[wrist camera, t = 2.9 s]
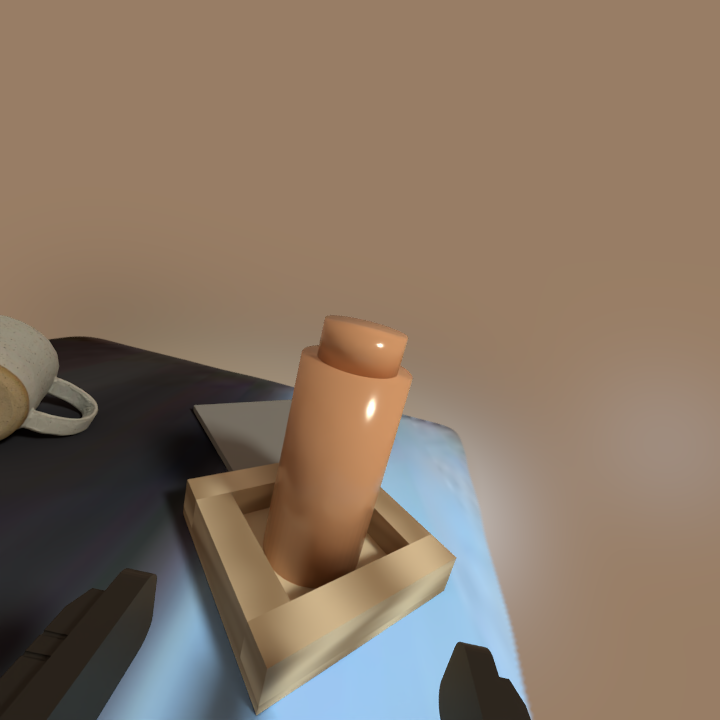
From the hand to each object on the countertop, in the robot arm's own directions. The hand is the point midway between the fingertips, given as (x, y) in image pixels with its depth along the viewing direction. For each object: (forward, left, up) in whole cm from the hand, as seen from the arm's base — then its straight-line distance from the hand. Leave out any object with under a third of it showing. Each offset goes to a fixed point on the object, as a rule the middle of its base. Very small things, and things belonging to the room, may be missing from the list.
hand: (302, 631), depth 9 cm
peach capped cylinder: (+7, +8, -7) cm, 13 cm away
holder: (+7, +8, -8) cm, 14 cm away
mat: (+11, +22, -8) cm, 26 cm away
